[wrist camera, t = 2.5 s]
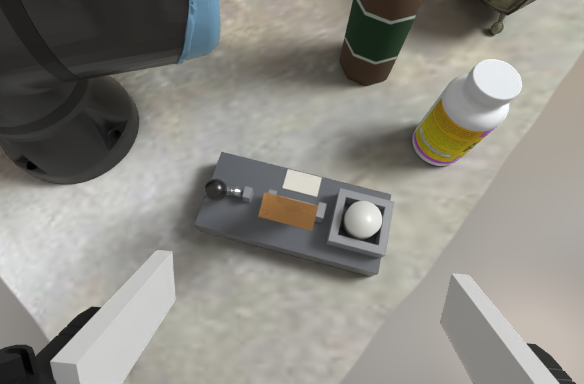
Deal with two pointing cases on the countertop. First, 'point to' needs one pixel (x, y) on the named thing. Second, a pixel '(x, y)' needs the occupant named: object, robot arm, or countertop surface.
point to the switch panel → (286, 238)
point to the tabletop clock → (504, 10)
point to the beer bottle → (376, 37)
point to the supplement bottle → (466, 112)
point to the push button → (362, 220)
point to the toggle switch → (220, 190)
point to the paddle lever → (288, 211)
